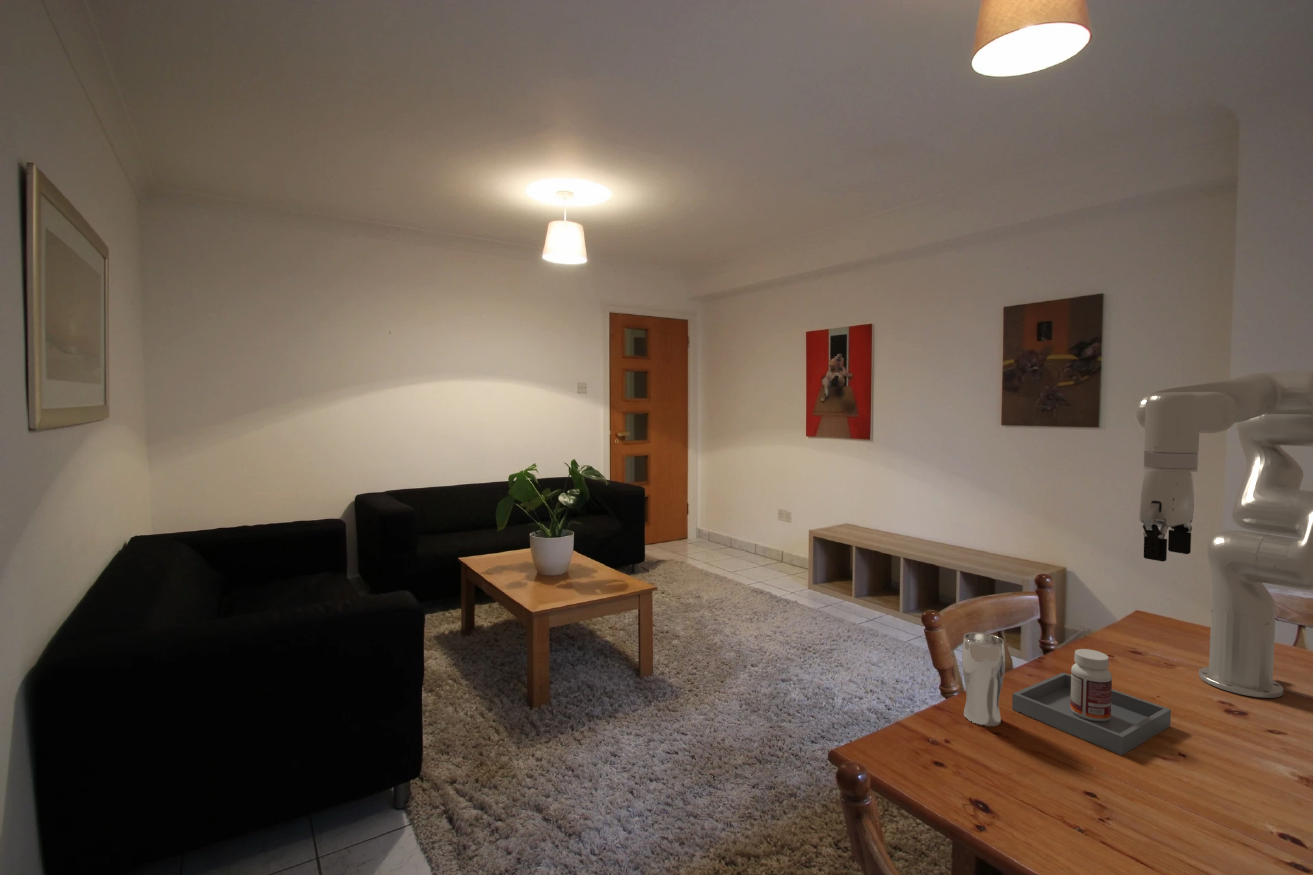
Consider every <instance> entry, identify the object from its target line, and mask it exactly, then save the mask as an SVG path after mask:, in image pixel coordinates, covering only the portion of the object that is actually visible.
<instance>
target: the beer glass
mask: <svg viewBox="0 0 1313 875" xmlns="http://www.w3.org/2000/svg"><path fill="white" fill-rule="evenodd" d="M1005 651H1006V650H1005V641H1004V639H1002V637H999V636H997V635H995V634H992V633H987V632H980V631H971V632H965V633H964V634H963V642H962V651H961V653H962V654H961V655H962V656H961V666H962V673H963V674H962V675H963V681H964V685H965V693H966V698H965V700H966V701H965V705H964V709H963V717H964V718H965V717H966V718H967V719H968V720H967V719H966V718H965V719H966V720H967V721H969V722H971V721H972V722H971V723H973V724H975V723H976V724H975V725H978V724H979V725H978V726H982V725H985V726H984V727H996V726H999V725H1000V724H1001V723H1002V722H1001V721H1002V719H1001V712H1000V695H1001V692H1002V687H1003V683H1004V682H1003V681H1004V678H1005V668H1006V652H1005Z"/></svg>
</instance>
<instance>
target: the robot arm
mask: <svg viewBox="0 0 1313 875" xmlns="http://www.w3.org/2000/svg"><path fill="white" fill-rule="evenodd" d="M1136 418H1137V421H1138V423H1139V425H1140V426H1141V427H1143V429H1144V446H1143V448H1144V451H1143V452H1144V453H1143V454H1144V455H1143V469H1144V470H1145V471H1144V476H1143V479H1142V483H1141V494H1140V503H1139V505H1140V506H1139V517H1138V521H1140V523H1141V524H1143V525H1142V528H1143V534H1142V535H1143V558H1144V559H1146V560H1152V561H1156V562H1163V563H1164V562H1165V561H1167V558H1168V557H1167V553H1168V551H1169V552H1171V553H1176V554H1177V553H1178V554H1184V555H1189V554H1191V553H1192V552H1191V548H1192V530H1193V526H1192V522H1193V520H1194V519H1193V518H1194V513H1195V512H1194V510H1195V509H1194V508H1195V484H1194V483H1195V481H1194V480H1195V479H1194V473H1196V472H1198V471H1199V448H1200V447H1199V446H1200V445H1199V444H1200V434H1217V433H1222V432H1224V431H1227V430H1228V429H1230V428H1232V426H1234V425H1235V424H1236V430H1237V435H1238V439H1239V441H1240V442H1239V443H1240V445H1241V448H1242V451H1243V455H1244V456H1245V460H1246V469H1245V473H1244V476H1243V479H1242V482H1241V484H1240V487H1239V489H1238V493H1237V495H1236V498H1235V501H1234V504H1233V507H1232V514H1231V515H1232V520H1233V521H1234V523H1235V524H1236V526H1239V527H1240V528H1242V529H1245V530H1247V531H1245V530H1233V529H1232V530H1224V531H1223V530H1222V531H1219V532H1216V533H1215V534H1213V536H1211V537H1210V539H1209V541H1208V544H1207V550H1206V551H1207V558H1208V559H1207V560H1208V563H1209V568H1210V569H1209V570H1210V575H1211V608H1210V610H1211V611H1210V612H1211V614H1210V631H1209V632H1210V634H1209V655H1208V659H1209V660H1208V665H1207V666H1203V667H1201V668H1199V670H1198V677H1199V678H1200V679H1201V680H1202V681H1204V682H1205V683H1207V684H1209V685H1211V686H1213V687H1215V688H1218V689H1220V690H1224V691H1227V692H1230V693H1234V694H1237V695H1242V696H1246V697H1247V696H1248V697H1253V698H1261V699H1262V698H1263V699H1275V698H1279V697H1282V696H1283V695H1284V688H1283V686H1282V685H1281V684H1280V683H1278V682H1277V681H1275V680H1274V657H1275V638H1276V637H1275V636H1276V633H1275V632H1276V617H1277V616H1276V615H1277V614H1276V613H1277V606H1276V602H1275V599H1274V598H1273V596H1272V594H1271V593H1270V592H1269V590H1268V589H1267V588H1266V586H1265V585H1264V584H1271V585H1274V586H1275V585H1276V586H1278V587H1280V586H1281V587H1285V588H1292V589H1296V590H1303V591H1313V490H1308V489H1307V490H1306V489H1300V488H1301V484H1302V482H1303V479H1304V471H1303V468H1302V467H1301V466H1300V464H1299V463H1298V462H1297V461H1296V459H1294V457H1292V456H1291V455H1290V453H1288V452H1287V451H1285V449H1283V448H1282V446H1291V447H1313V370H1296V371H1295V370H1294V371H1293V370H1292V371H1273V372H1272V371H1268V372H1267V371H1265V372H1255V373H1248V374H1245V375H1240V376H1237V377H1234V378H1230V379H1225V380H1217V381H1210V382H1204V383H1198V384H1192V385H1184V386H1178V387H1170V388H1169V387H1168V388H1164V389H1159V390H1155V391H1152V392H1149V393H1147V394H1146V395H1144V397H1142V398H1141V399H1140V401H1139V403H1138V404H1137V407H1136ZM1169 528H1170V529H1169ZM1167 532H1168V539H1167V538H1165V537H1166V535H1167Z"/></svg>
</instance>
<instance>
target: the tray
mask: <svg viewBox="0 0 1313 875" xmlns="http://www.w3.org/2000/svg"><path fill="white" fill-rule="evenodd" d="M1070 702H1071V674H1069V673H1066V672H1063V671H1062V672H1061V673H1058V674H1055V675H1053V676H1051V677H1048V678H1047V679H1044V680H1041V681H1039V682H1037V683H1034V684H1032V685H1030V686H1027V687H1025V688H1023V689H1020V690H1018V691H1017V690H1016V691H1015V692H1013V693H1012V703H1011V704H1012V707H1011V708H1012V709H1013V711H1015V710H1016V711H1015V712H1017V713H1019V712H1021V713H1020V714H1022V713H1023V714H1022V715H1024V714H1025V716H1027V717H1029V716H1030V717H1029V718H1031V717H1032V718H1031V719H1034V720H1036V721H1038V720H1039V722H1041V723H1044V724H1045V725H1049V726H1050V727H1054V728H1056V729H1058V730H1060V731H1062V732H1065V733H1067V734H1069V735H1072V736H1074V737H1076V738H1080V739H1081V740H1084V741H1085V742H1089V743H1091V744H1093V745H1095V746H1099V747H1101V748H1103V749H1105V750H1109V751H1110V752H1112V753H1115V754H1117V755H1120V756H1124V755H1126V754H1127V753H1129V752H1130V751H1131V750H1133V749H1135V748H1137V747H1138V746H1140V745H1141V744H1143V743H1145V742H1147V741H1149V740H1150V739H1152V738H1154V737H1155V736H1156V735H1158V734H1160V733H1161V732H1163V731H1165V730H1167V729H1168V728H1170V727H1171V723H1172V722H1171V718H1172V717H1171V715H1172V709H1171V708H1168V707H1166V706H1162V705H1160V704H1156V703H1153V702H1151V701H1148V700H1145V699H1142V698H1139V697H1135V696H1133V695H1130V694H1127V693H1125V692H1122V691H1118V690H1116V689H1113V688H1112V692H1111V718H1110V719H1109V720H1107V721H1091V720H1087V719H1084V718H1082V717H1079V716H1078V715H1076V714H1074V713H1073V712H1072V710H1071V707H1070Z"/></svg>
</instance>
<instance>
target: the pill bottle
mask: <svg viewBox="0 0 1313 875" xmlns="http://www.w3.org/2000/svg"><path fill="white" fill-rule="evenodd" d="M1109 659H1110V658H1109V656H1108V655H1107V654H1105V653H1103V652H1101V651H1098V650H1093V649H1088V648H1080V649H1079V648H1078V649H1076V650H1075V651H1074V662H1075V663H1074V664H1072V665H1071V668H1070V669H1071V670H1070V671H1071V672H1070V675H1071V702H1070V707H1071V710H1072V712H1073V713H1074V714H1076V715H1078V716H1079V717H1082V718H1084V719H1087V720H1091V721H1107V720H1109V719H1110V718H1111V692H1112V689H1113V688H1112V687H1113V676H1112V675H1113V674H1112V673H1111V671H1110V670H1109V667H1110V664H1109V662H1110V660H1109Z"/></svg>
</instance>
